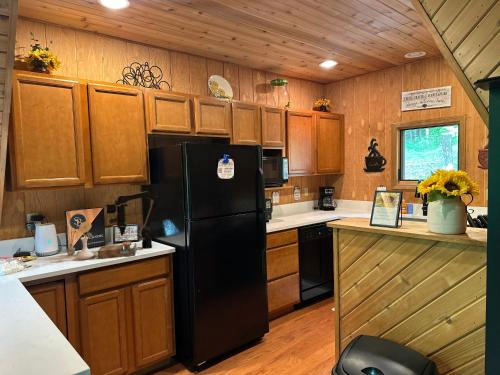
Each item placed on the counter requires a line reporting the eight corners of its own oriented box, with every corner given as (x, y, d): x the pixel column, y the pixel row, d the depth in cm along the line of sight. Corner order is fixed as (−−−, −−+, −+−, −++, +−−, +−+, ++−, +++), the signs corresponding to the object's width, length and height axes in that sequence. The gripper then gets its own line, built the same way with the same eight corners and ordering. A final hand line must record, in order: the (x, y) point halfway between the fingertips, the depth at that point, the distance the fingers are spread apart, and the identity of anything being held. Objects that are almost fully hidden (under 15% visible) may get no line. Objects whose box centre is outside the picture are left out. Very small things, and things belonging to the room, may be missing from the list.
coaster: (131, 244, 252) (131, 241, 252) (130, 245, 246) (130, 243, 246) (123, 244, 251) (122, 241, 251) (122, 246, 245) (121, 243, 245)
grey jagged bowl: (136, 250, 245) (136, 243, 244) (135, 255, 231) (134, 247, 231) (116, 252, 241) (116, 244, 241) (113, 257, 228) (113, 248, 227)
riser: (130, 249, 251) (130, 244, 251) (129, 250, 247) (129, 245, 247) (124, 249, 250) (124, 244, 250) (123, 250, 246) (123, 246, 246)
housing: (123, 252, 242) (122, 244, 242) (120, 256, 229) (120, 249, 229) (102, 253, 239) (101, 246, 239) (98, 258, 226) (97, 250, 225)
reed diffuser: (63, 256, 235) (61, 227, 233) (65, 254, 241) (64, 225, 240) (79, 255, 237) (78, 226, 236) (81, 252, 244) (80, 224, 243)
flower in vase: (72, 259, 226) (70, 221, 224) (87, 255, 236) (85, 219, 234) (85, 261, 219) (83, 222, 218) (100, 257, 229) (98, 220, 228)
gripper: (109, 212, 250) (109, 233, 251) (108, 215, 233) (109, 237, 233) (125, 211, 254) (125, 232, 255) (126, 214, 237) (126, 236, 237)
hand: (121, 234), depth 245 cm, fingers open, 9 cm apart
